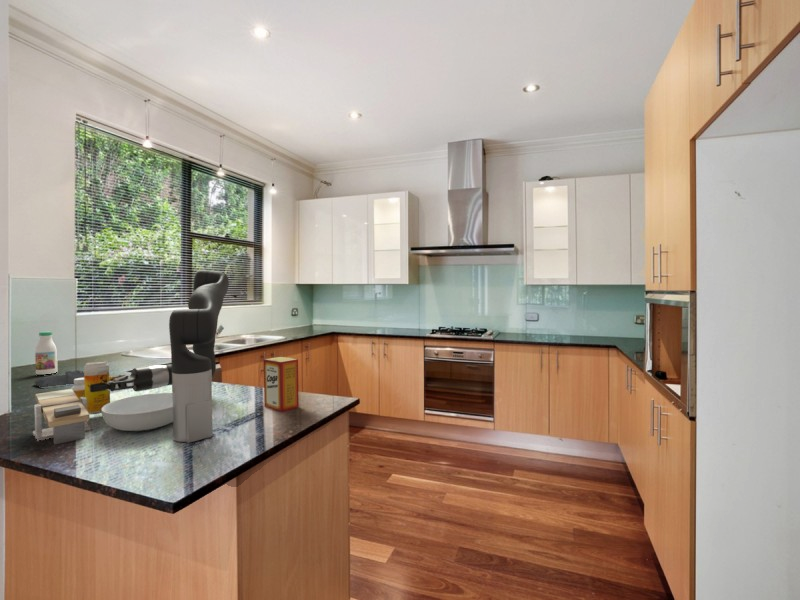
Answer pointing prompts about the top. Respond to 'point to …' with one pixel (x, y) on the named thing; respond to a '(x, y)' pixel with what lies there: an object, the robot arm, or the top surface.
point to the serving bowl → (139, 412)
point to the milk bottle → (46, 354)
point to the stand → (60, 428)
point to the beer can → (95, 375)
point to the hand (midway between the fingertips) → (87, 387)
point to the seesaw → (61, 407)
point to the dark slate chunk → (60, 379)
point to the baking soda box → (281, 383)
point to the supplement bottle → (79, 387)
